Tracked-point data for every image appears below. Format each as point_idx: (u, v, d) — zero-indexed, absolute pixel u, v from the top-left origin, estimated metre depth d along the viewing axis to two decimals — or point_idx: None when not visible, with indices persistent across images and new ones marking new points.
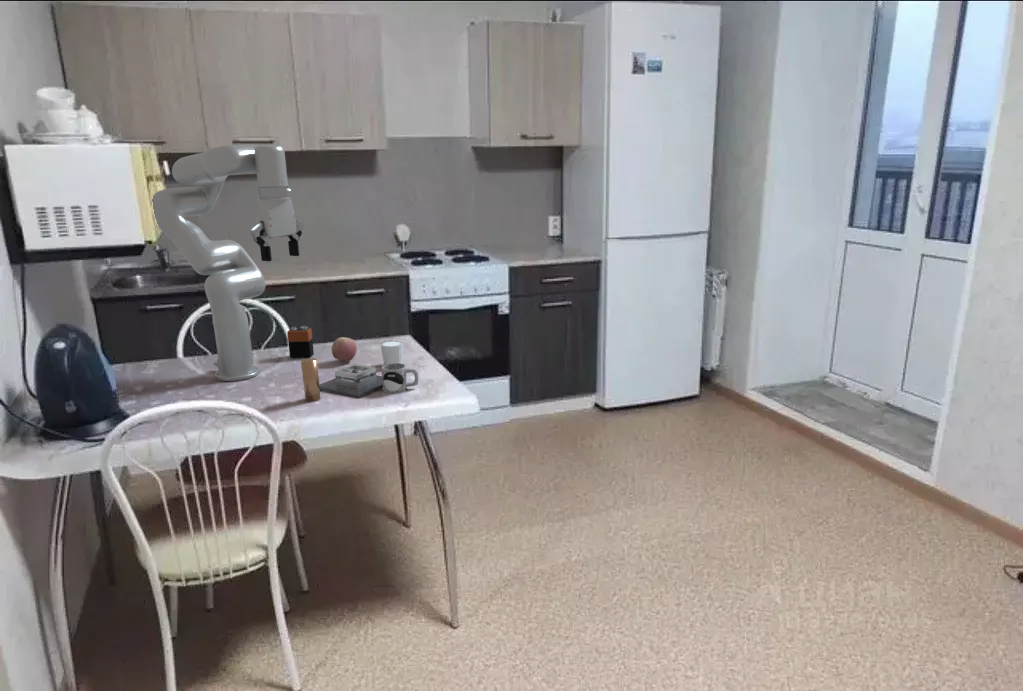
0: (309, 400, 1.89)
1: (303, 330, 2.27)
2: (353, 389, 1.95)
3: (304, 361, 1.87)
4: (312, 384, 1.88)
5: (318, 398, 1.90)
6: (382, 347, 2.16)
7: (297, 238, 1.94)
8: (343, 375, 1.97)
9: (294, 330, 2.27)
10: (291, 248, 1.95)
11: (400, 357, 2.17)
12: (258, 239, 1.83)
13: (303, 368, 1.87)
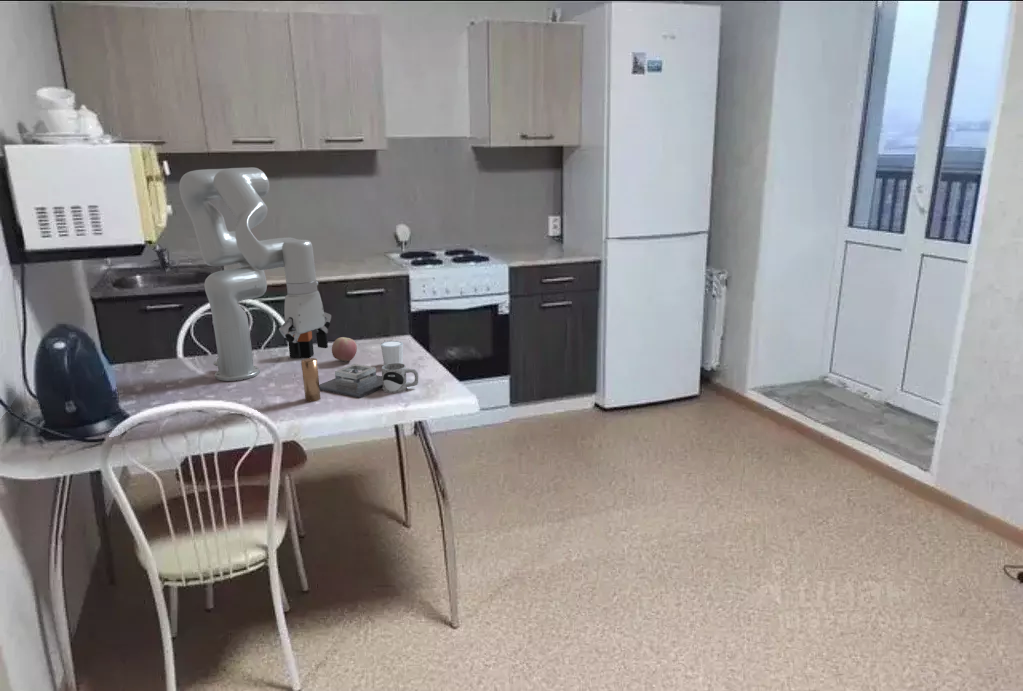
0: (309, 400, 1.89)
1: None
2: (353, 389, 1.95)
3: (304, 361, 1.87)
4: (312, 384, 1.88)
5: (318, 398, 1.90)
6: (382, 347, 2.16)
7: (325, 330, 1.90)
8: (343, 375, 1.97)
9: None
10: (319, 340, 1.91)
11: (400, 357, 2.17)
12: (287, 336, 1.79)
13: (303, 368, 1.87)
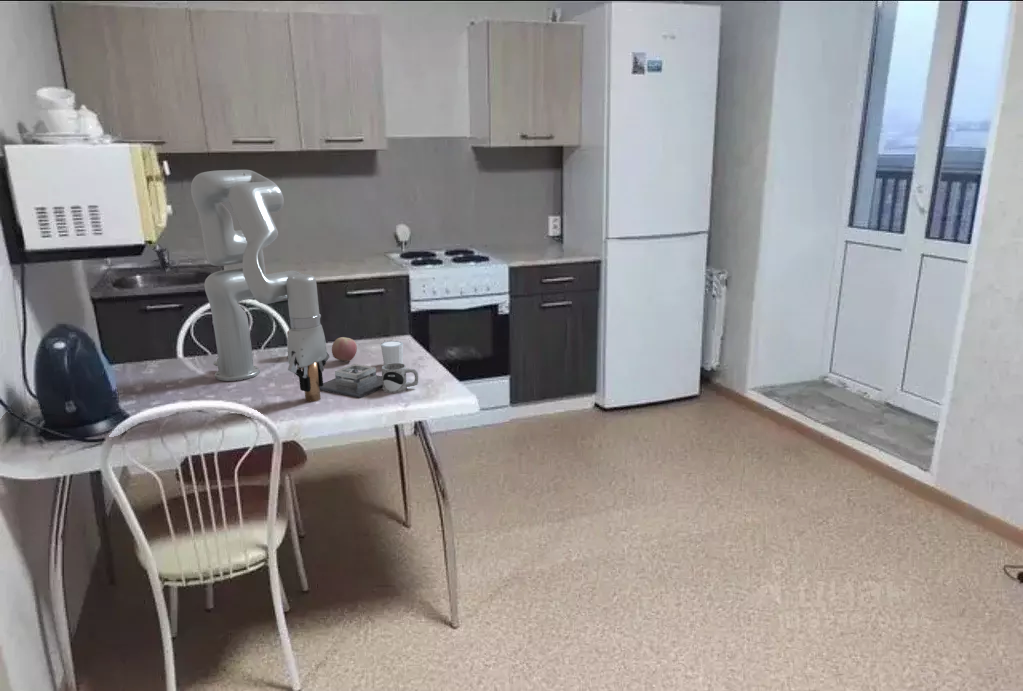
0: (309, 400, 1.89)
1: None
2: (353, 389, 1.95)
3: None
4: (312, 384, 1.88)
5: (318, 398, 1.90)
6: (382, 347, 2.16)
7: (321, 369, 1.91)
8: (343, 375, 1.97)
9: None
10: None
11: (400, 357, 2.17)
12: (298, 372, 1.84)
13: None
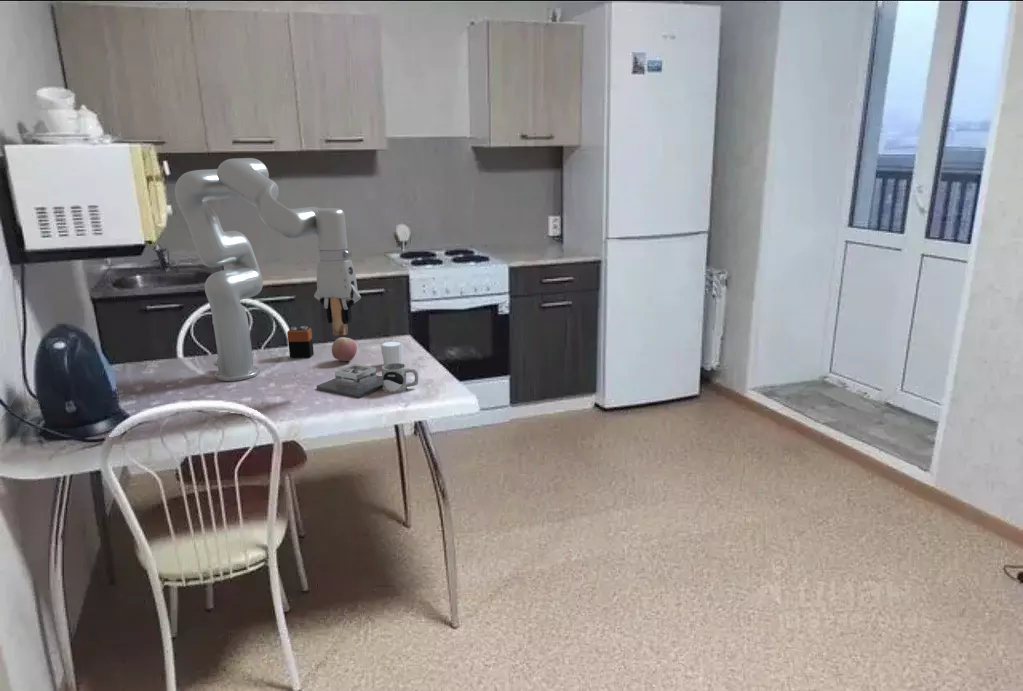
0: None
1: (303, 330, 2.27)
2: (353, 389, 1.95)
3: None
4: None
5: (336, 333, 1.92)
6: (382, 347, 2.16)
7: (344, 307, 1.90)
8: (343, 375, 1.97)
9: (294, 330, 2.27)
10: None
11: (400, 357, 2.17)
12: (320, 301, 1.92)
13: None
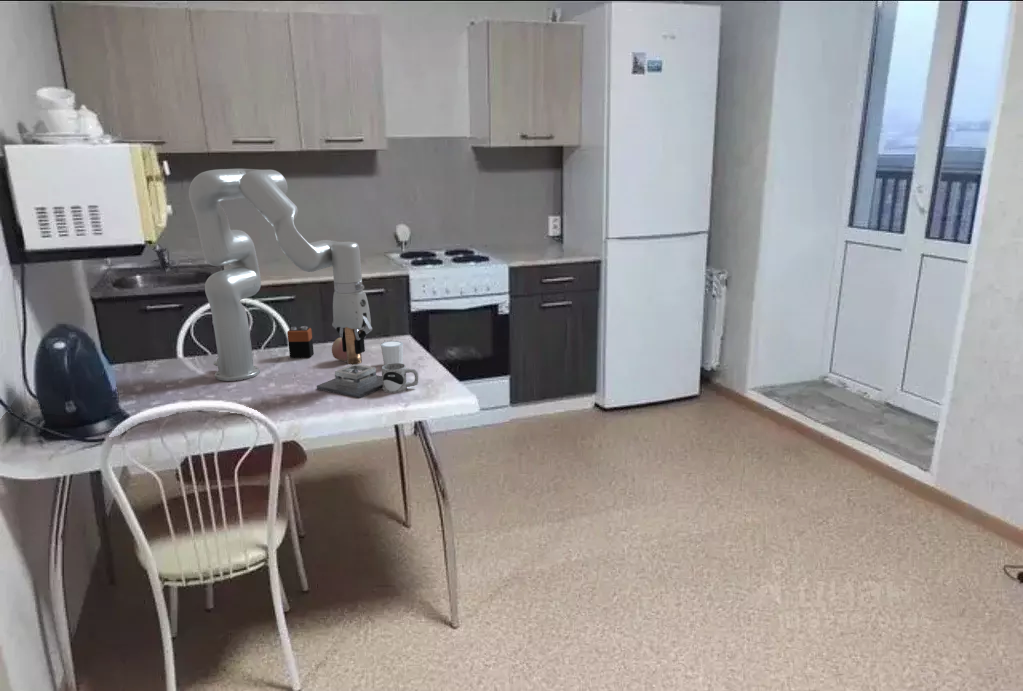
0: None
1: (303, 330, 2.27)
2: (353, 389, 1.95)
3: None
4: (346, 346, 1.97)
5: (350, 362, 1.98)
6: (382, 347, 2.16)
7: (357, 337, 1.95)
8: (343, 375, 1.97)
9: (294, 330, 2.27)
10: None
11: (400, 357, 2.17)
12: (337, 330, 1.99)
13: None
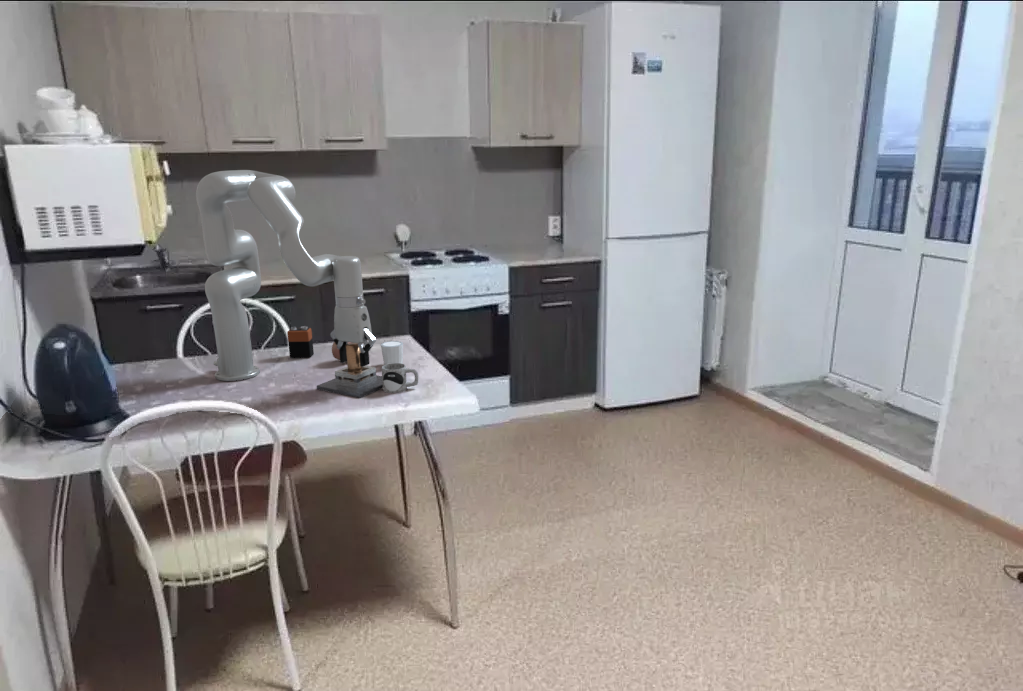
0: None
1: (303, 330, 2.27)
2: (353, 389, 1.95)
3: (349, 343, 2.00)
4: (347, 366, 1.99)
5: None
6: (382, 347, 2.16)
7: (361, 350, 1.95)
8: (343, 375, 1.97)
9: (294, 330, 2.27)
10: None
11: (400, 357, 2.17)
12: None
13: None
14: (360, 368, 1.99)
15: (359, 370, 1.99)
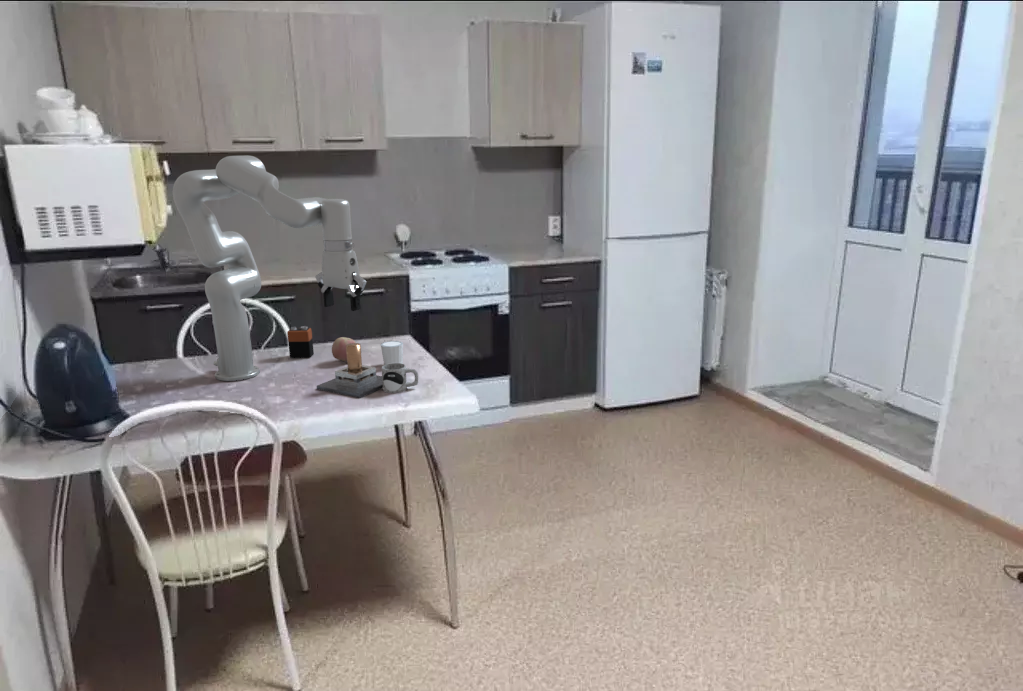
0: None
1: (303, 330, 2.27)
2: (353, 389, 1.95)
3: (350, 344, 1.99)
4: (348, 366, 1.99)
5: None
6: (382, 347, 2.16)
7: (352, 294, 1.90)
8: (343, 375, 1.97)
9: (294, 330, 2.27)
10: None
11: (400, 357, 2.17)
12: (318, 284, 1.96)
13: None
14: (360, 369, 1.99)
15: (359, 371, 1.99)
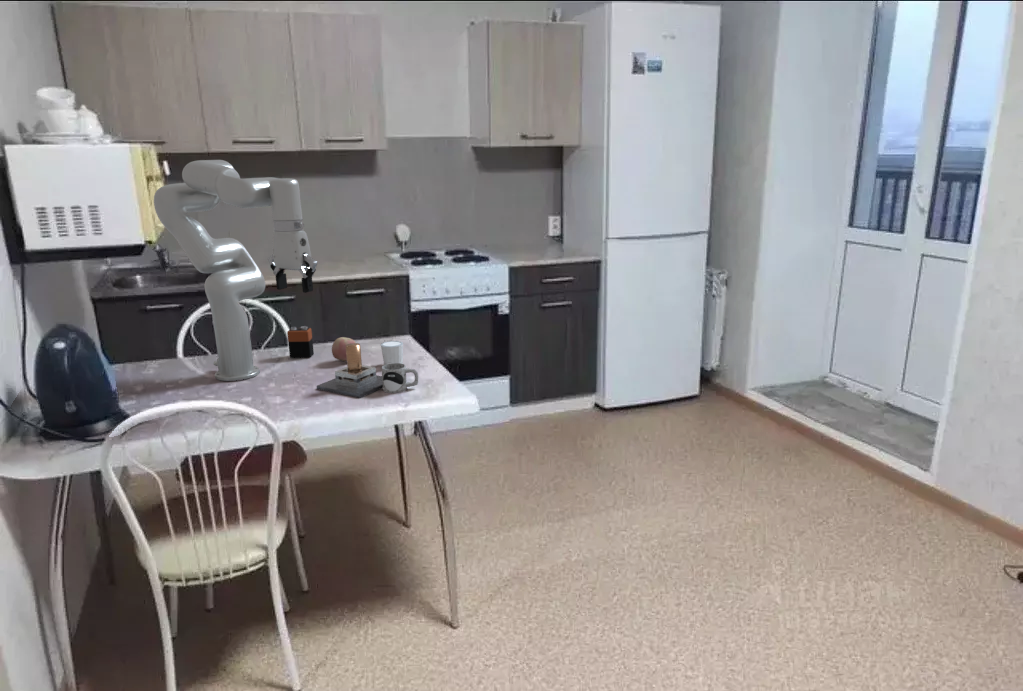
0: None
1: (303, 330, 2.27)
2: (353, 389, 1.95)
3: (349, 344, 1.99)
4: (347, 366, 1.99)
5: None
6: (382, 347, 2.16)
7: (303, 275, 1.87)
8: (343, 375, 1.97)
9: (294, 330, 2.27)
10: None
11: (400, 357, 2.17)
12: (271, 266, 1.93)
13: None
14: (360, 369, 1.99)
15: (359, 371, 1.99)
